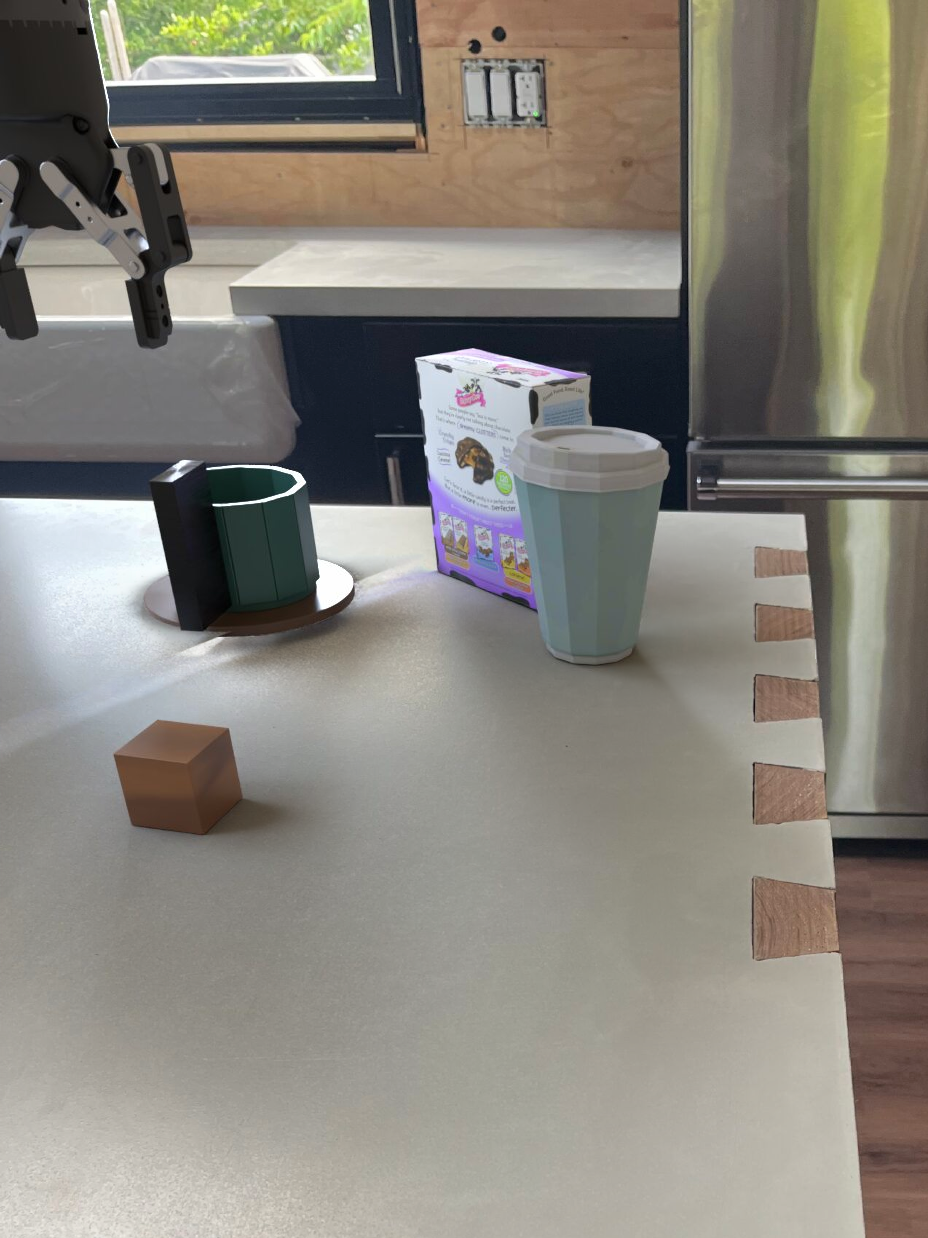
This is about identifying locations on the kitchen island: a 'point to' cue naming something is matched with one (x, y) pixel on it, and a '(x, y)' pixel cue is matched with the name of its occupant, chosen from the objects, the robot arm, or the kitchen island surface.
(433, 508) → the candy box
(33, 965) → the kitchen island surface
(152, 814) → the block
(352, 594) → the cup with saucer
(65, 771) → the kitchen island surface
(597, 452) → the disposable coffee cup
